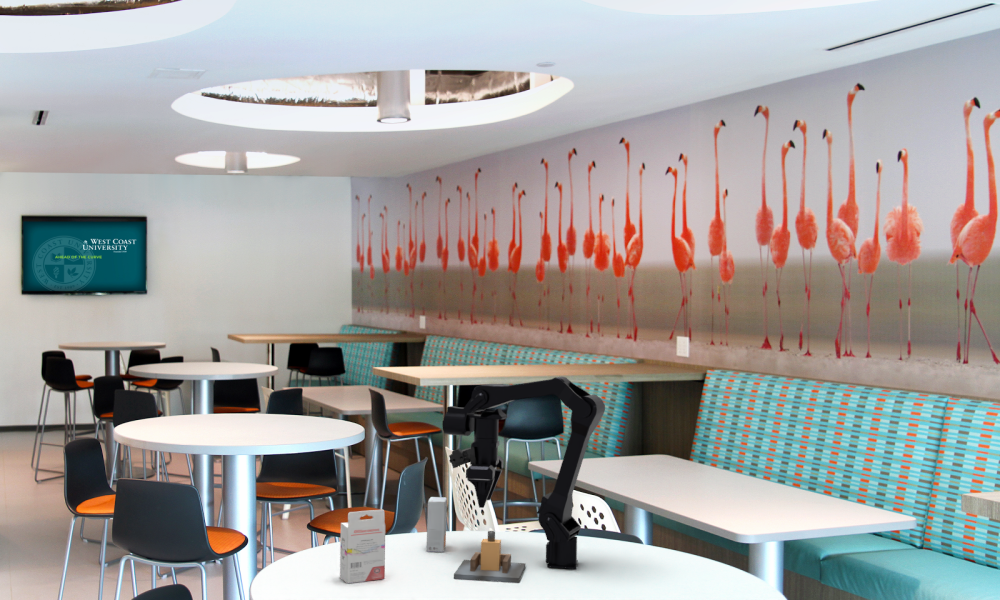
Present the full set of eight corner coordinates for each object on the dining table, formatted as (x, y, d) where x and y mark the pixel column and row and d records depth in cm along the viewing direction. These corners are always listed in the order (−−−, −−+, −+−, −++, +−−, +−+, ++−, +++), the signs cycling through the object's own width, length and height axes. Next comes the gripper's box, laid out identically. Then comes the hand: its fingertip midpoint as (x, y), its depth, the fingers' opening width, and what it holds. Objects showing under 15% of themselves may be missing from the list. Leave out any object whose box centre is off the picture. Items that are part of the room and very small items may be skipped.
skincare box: (444, 552, 213) (445, 501, 214) (426, 552, 213) (427, 501, 214) (446, 546, 219) (447, 497, 220) (428, 545, 219) (429, 496, 220)
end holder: (525, 567, 201) (525, 552, 201) (518, 582, 189) (519, 566, 189) (464, 564, 203) (464, 548, 203) (453, 578, 191) (454, 562, 191)
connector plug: (500, 567, 198) (501, 530, 198) (498, 570, 195) (499, 533, 195) (482, 566, 198) (483, 529, 198) (480, 569, 195) (481, 532, 195)
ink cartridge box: (377, 573, 194) (378, 505, 195) (385, 579, 190) (386, 509, 190) (338, 577, 190) (340, 508, 191) (345, 584, 186) (347, 512, 186)
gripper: (459, 431, 223) (458, 495, 222) (444, 441, 204) (443, 510, 204) (504, 433, 221) (503, 497, 221) (492, 442, 203) (491, 512, 202)
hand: (484, 503), depth 212 cm, fingers open, 9 cm apart
